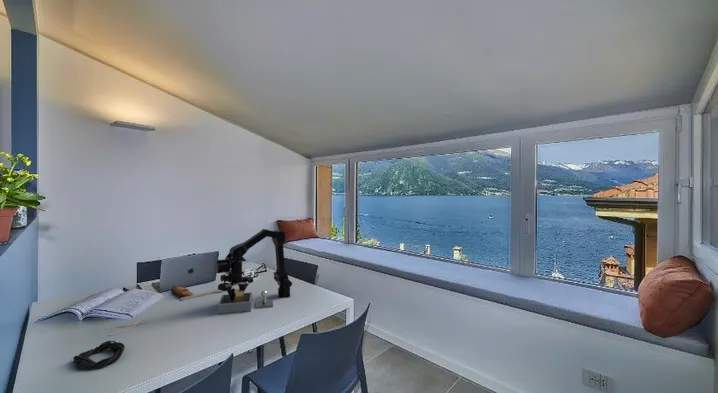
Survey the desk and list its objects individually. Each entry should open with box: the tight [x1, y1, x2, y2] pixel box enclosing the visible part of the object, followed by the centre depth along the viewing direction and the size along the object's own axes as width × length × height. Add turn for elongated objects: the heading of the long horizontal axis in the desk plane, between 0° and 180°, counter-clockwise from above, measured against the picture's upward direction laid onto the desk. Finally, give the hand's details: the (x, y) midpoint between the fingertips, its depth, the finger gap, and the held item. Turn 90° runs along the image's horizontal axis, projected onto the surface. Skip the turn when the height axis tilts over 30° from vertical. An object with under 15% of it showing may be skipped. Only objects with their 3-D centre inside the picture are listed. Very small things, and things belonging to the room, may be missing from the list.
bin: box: [217, 292, 253, 316], centre depth 161 cm, size 16×16×5 cm
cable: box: [73, 340, 126, 370], centre depth 110 cm, size 17×14×4 cm
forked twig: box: [105, 318, 150, 337], centre depth 136 cm, size 10×2×15 cm
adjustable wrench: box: [179, 288, 226, 302], centre depth 180 cm, size 25×6×2 cm, turn 132°
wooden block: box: [229, 288, 245, 303], centre depth 161 cm, size 5×5×6 cm
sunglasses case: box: [170, 285, 195, 299], centre depth 181 cm, size 18×7×7 cm
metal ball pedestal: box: [255, 289, 274, 309], centre depth 165 cm, size 9×9×8 cm
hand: (236, 299), depth 161 cm, fingers closed on wooden block, 5 cm apart
